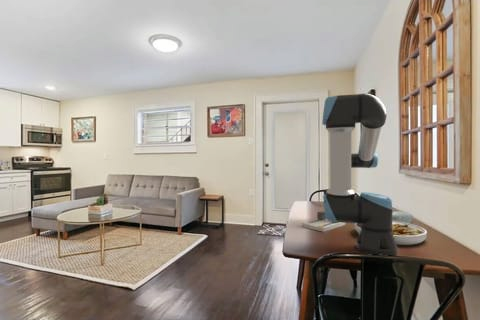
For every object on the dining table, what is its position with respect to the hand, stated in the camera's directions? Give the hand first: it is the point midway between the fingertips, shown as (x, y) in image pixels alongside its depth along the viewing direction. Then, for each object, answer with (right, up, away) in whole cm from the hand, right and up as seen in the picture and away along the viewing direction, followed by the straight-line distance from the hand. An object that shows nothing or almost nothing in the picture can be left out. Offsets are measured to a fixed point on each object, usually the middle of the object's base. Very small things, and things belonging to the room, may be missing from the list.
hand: (338, 218), depth 147 cm
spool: (+33, -4, -4) cm, 33 cm away
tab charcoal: (-8, -1, +5) cm, 10 cm away
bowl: (+16, -4, -23) cm, 28 cm away
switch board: (-9, -4, -1) cm, 10 cm away
